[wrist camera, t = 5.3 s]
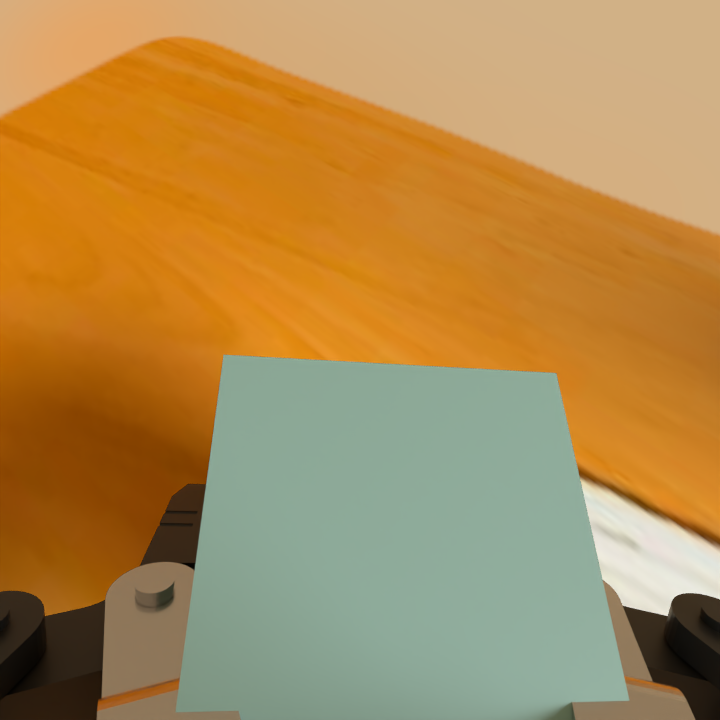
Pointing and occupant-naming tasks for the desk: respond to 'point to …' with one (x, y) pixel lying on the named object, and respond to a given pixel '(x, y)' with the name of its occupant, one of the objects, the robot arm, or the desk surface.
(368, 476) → the pillar
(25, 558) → the desk surface
